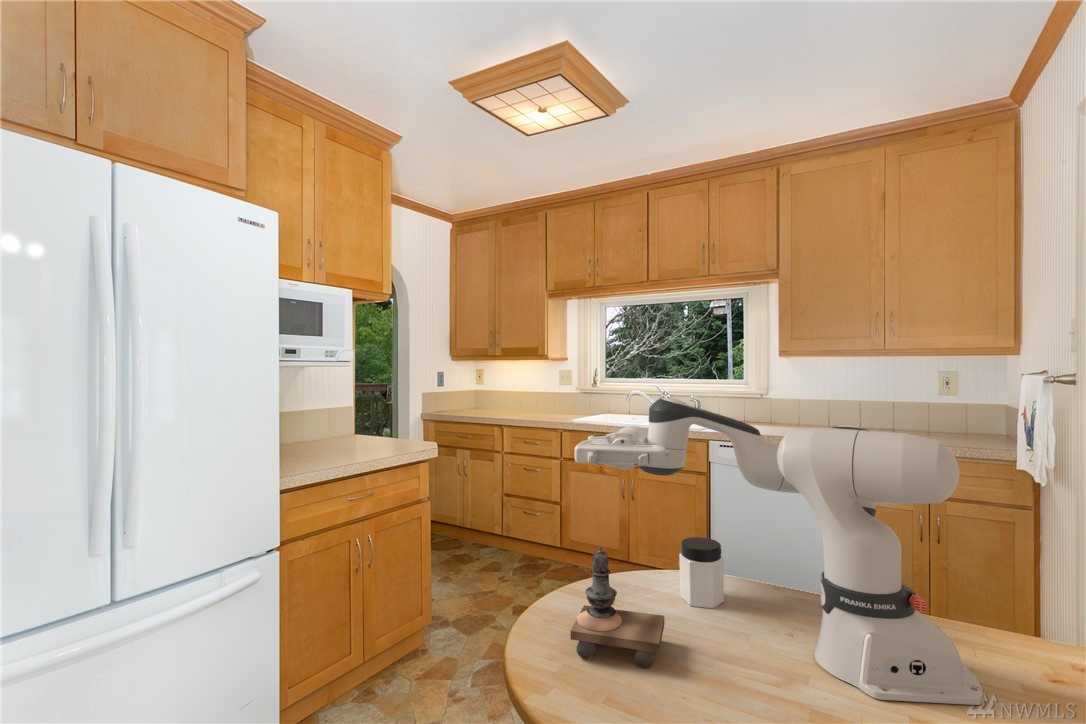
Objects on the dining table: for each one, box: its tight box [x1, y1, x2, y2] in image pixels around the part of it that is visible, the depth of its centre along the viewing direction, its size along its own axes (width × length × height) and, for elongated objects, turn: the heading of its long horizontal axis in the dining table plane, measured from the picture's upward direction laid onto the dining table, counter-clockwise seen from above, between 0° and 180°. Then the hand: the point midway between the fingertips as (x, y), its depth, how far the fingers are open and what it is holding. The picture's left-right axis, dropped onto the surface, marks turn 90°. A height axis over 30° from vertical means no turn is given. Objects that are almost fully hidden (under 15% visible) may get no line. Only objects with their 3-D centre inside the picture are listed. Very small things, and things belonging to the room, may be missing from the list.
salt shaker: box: [584, 546, 618, 618], centre depth 99 cm, size 6×6×12 cm
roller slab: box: [570, 604, 665, 670], centre depth 95 cm, size 15×10×5 cm, turn 72°
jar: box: [678, 536, 725, 609], centre depth 113 cm, size 9×8×12 cm
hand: (614, 461), depth 112 cm, fingers open, 8 cm apart
